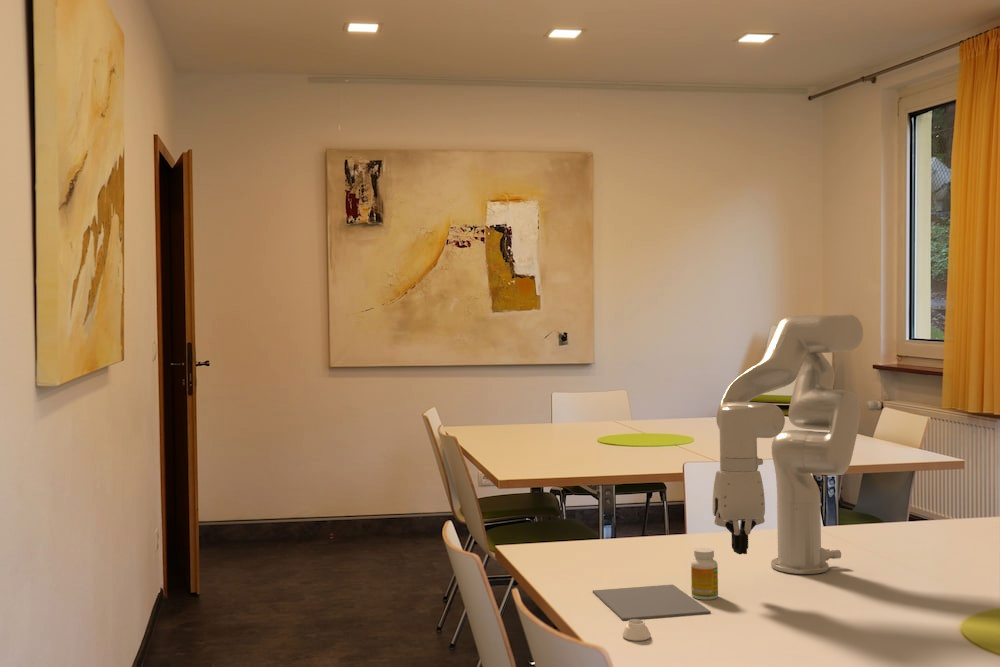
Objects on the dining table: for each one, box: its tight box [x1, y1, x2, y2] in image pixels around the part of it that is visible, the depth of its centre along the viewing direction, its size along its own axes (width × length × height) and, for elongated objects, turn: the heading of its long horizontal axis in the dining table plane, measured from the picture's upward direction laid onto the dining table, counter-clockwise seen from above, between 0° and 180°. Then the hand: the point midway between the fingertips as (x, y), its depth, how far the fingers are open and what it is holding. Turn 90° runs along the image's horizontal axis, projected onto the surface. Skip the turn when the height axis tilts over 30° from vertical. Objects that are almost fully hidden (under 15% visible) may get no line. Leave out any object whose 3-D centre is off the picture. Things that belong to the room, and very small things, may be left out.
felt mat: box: [592, 584, 712, 621], centre depth 194 cm, size 18×20×1 cm
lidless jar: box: [621, 619, 652, 642], centre depth 173 cm, size 5×3×5 cm
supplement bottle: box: [690, 547, 719, 601], centre depth 198 cm, size 5×5×10 cm
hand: (740, 552), depth 199 cm, fingers closed
